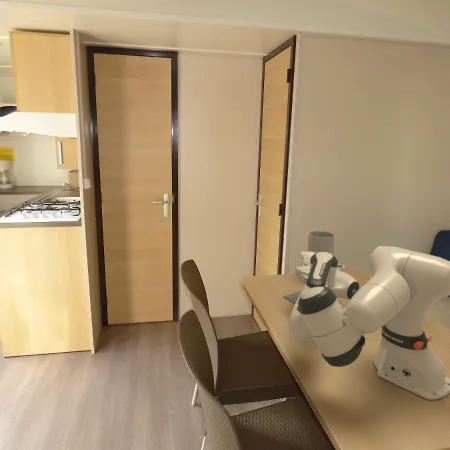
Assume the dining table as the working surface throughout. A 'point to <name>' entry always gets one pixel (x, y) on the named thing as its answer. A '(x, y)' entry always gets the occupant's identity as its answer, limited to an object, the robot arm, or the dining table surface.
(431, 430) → the dining table surface
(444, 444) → the dining table surface
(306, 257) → the cream peg
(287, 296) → the slate plate
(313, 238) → the cylinder vase
